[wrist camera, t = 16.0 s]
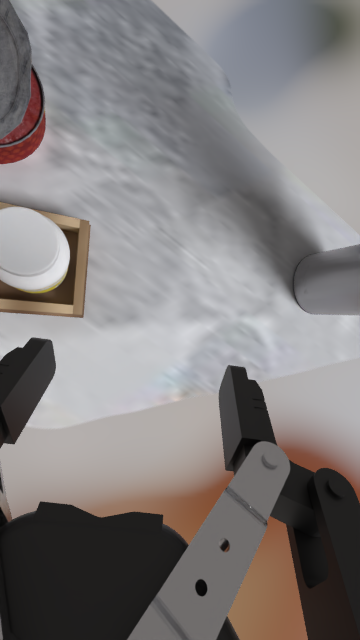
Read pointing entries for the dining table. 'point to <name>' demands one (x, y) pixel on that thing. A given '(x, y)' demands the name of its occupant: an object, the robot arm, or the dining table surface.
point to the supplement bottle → (31, 251)
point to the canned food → (18, 91)
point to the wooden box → (73, 287)
